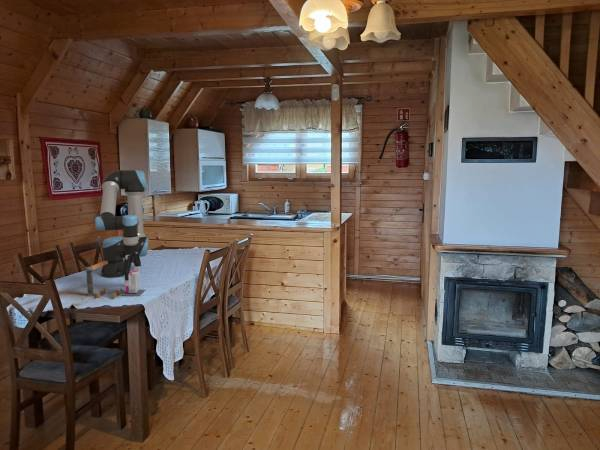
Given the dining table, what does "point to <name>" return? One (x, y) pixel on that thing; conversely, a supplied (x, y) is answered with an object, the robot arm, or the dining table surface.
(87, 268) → the clip
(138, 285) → the supplement box
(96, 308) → the dining table surface
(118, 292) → the socket
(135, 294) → the pad
